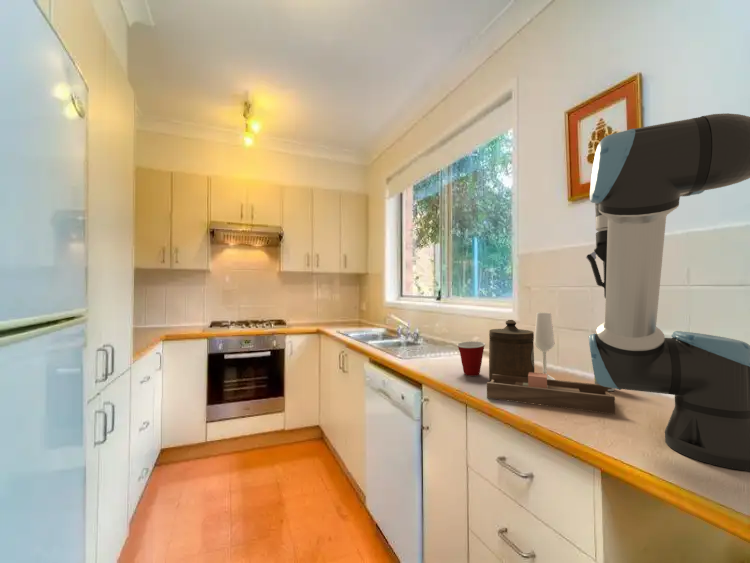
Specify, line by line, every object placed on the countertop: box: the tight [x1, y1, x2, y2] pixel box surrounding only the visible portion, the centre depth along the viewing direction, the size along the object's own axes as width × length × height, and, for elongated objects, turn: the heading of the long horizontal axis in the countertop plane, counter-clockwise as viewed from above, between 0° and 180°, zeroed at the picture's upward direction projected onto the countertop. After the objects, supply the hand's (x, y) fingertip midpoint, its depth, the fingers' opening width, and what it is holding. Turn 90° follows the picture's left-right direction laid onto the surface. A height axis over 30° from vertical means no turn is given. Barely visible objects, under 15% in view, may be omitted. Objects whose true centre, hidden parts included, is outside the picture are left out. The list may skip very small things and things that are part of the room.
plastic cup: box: [456, 340, 486, 377], centre depth 133 cm, size 11×11×12 cm
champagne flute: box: [533, 311, 556, 380], centre depth 126 cm, size 7×7×24 cm
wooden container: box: [488, 319, 535, 382], centre depth 121 cm, size 15×15×22 cm
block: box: [528, 372, 548, 388], centre depth 103 cm, size 5×5×4 cm
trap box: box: [486, 374, 616, 415], centre depth 102 cm, size 12×32×4 cm, turn 63°
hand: (612, 309), depth 101 cm, fingers closed
